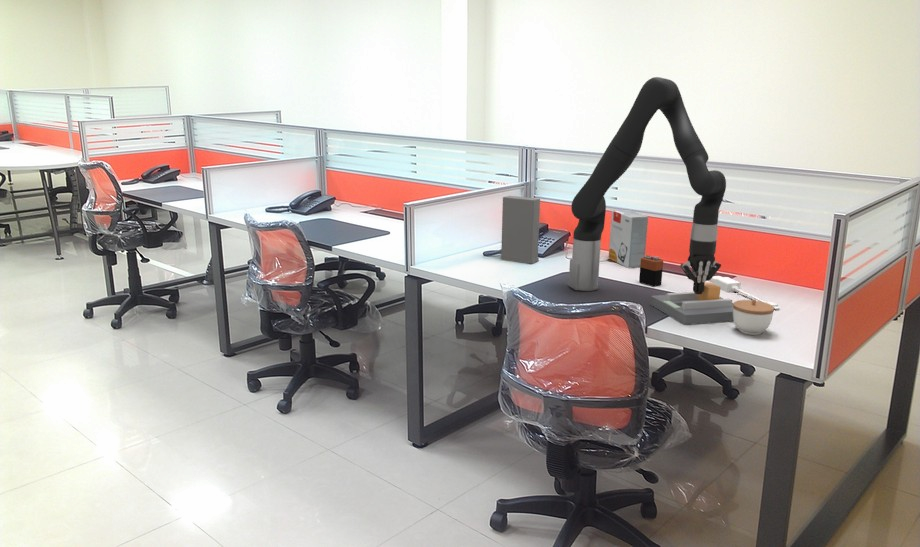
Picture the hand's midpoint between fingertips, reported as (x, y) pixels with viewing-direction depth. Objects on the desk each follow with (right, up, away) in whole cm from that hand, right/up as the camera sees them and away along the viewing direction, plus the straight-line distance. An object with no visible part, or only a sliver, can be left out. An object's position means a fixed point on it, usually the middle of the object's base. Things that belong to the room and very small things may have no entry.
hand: (698, 293), depth 217 cm
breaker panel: (0, -6, +2) cm, 6 cm away
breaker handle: (+4, -2, +2) cm, 5 cm away
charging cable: (+22, -2, +21) cm, 30 cm away
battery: (-6, +2, +33) cm, 34 cm away
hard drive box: (-7, +10, +63) cm, 64 cm away
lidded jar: (+10, -11, -15) cm, 21 cm away
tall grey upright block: (-49, +11, +65) cm, 82 cm away
